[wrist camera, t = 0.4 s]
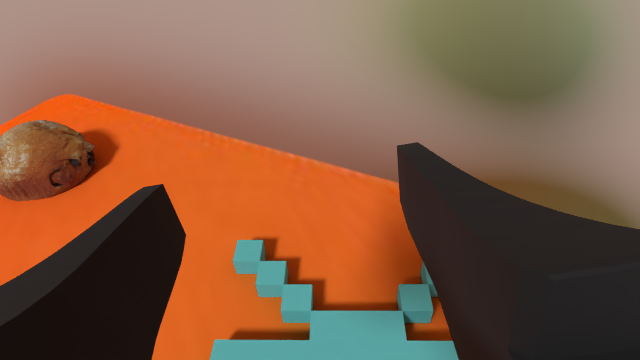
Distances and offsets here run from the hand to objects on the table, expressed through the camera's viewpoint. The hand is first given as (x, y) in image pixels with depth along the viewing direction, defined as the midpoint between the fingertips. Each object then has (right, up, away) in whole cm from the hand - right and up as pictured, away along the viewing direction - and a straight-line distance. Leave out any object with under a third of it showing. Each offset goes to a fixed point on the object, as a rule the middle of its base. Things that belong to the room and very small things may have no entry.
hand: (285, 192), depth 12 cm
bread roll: (-30, +1, +33) cm, 45 cm away
